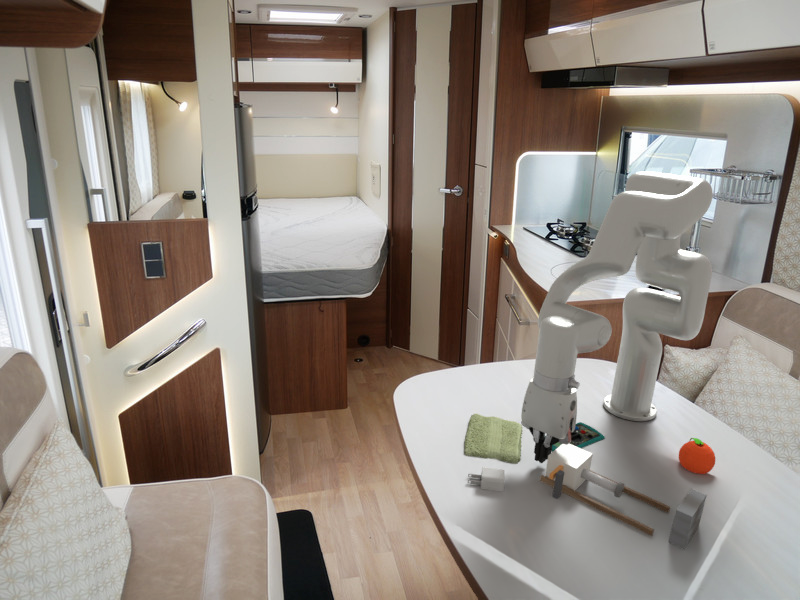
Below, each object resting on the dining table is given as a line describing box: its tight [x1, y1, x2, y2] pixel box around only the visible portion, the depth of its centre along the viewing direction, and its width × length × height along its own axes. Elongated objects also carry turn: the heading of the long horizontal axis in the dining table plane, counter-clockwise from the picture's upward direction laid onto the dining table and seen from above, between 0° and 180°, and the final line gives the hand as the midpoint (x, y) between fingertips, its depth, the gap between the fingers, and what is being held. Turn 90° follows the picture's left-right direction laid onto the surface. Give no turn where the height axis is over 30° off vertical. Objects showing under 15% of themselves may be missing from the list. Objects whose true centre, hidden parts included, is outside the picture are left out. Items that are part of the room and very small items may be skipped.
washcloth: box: [463, 413, 523, 464], centre depth 132 cm, size 13×18×3 cm
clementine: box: [678, 437, 716, 475], centre depth 124 cm, size 8×7×7 cm
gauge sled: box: [544, 444, 625, 499], centre depth 114 cm, size 11×14×6 cm
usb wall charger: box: [467, 466, 505, 492], centre depth 116 cm, size 4×7×4 cm, turn 81°
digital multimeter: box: [545, 421, 606, 452], centre depth 132 cm, size 7×15×3 cm, turn 125°
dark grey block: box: [552, 470, 564, 499], centre depth 112 cm, size 2×1×5 cm, turn 138°
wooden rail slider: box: [539, 469, 708, 550], centre depth 111 cm, size 14×30×8 cm, turn 48°
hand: (541, 458), depth 121 cm, fingers closed
